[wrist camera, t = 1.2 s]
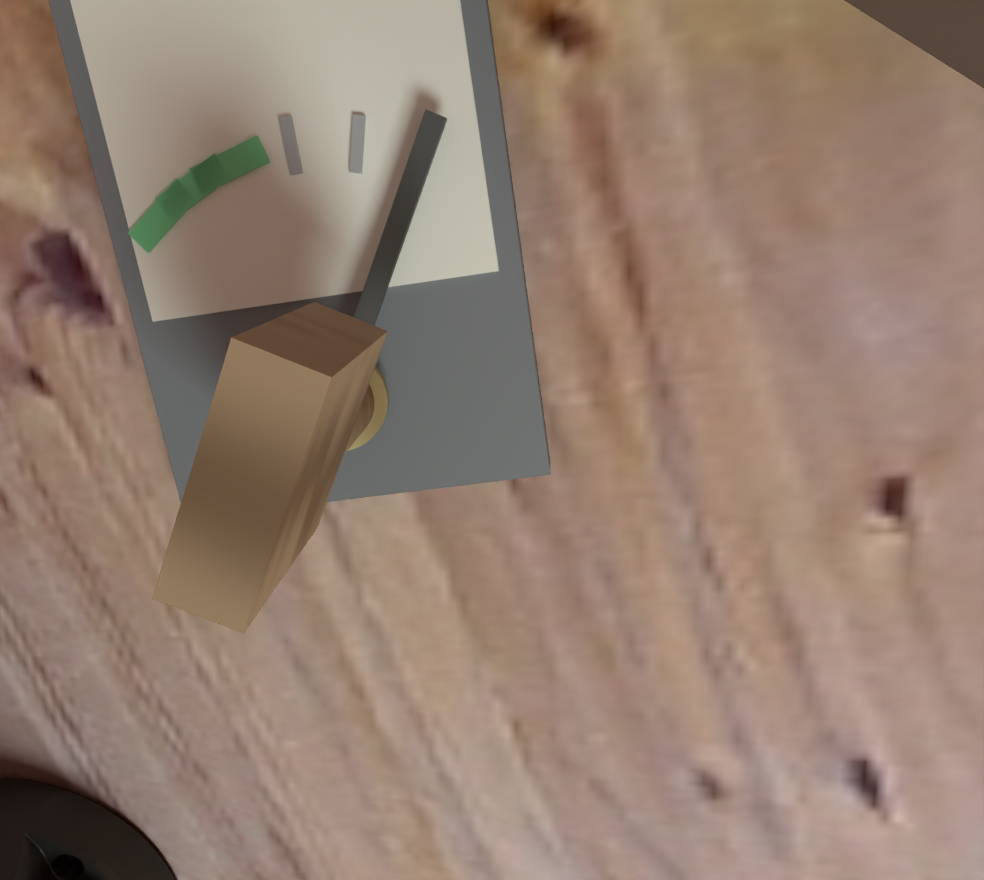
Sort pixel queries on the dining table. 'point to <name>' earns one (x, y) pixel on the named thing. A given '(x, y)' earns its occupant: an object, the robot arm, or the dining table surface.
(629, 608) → the dining table surface
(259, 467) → the wooden pointer lever
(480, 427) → the tuner board
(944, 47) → the brown soup pot
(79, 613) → the dining table surface
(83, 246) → the dining table surface
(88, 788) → the dining table surface
